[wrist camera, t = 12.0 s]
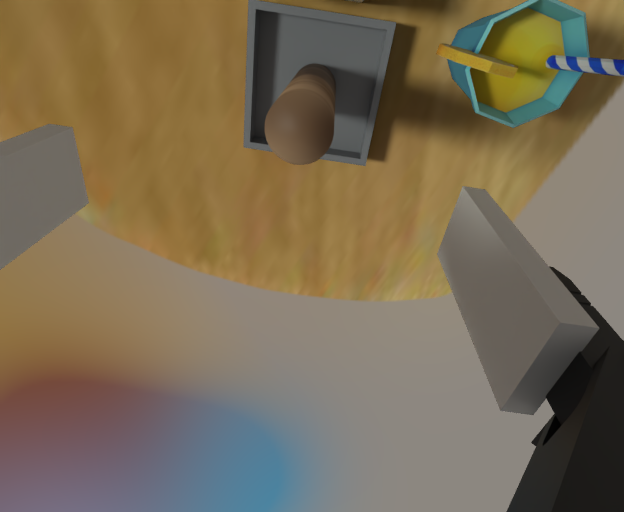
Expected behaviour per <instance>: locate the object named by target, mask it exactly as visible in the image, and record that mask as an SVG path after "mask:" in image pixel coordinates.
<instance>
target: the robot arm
mask: <svg viewBox="0 0 624 512" xmlns="http://www.w3.org/2000/svg"><path fill="white" fill-rule="evenodd" d="M88 203H89V202H88V197H87V192H86V188H85V183H84V179H83V174H82V169H81V165H80V160H79V155H78V151H77V146H76V141H75V137H74V132H73V127H67V126H60V125H53V124H48V125H45V126H42V127H40V128H37V129H34V130H32V131H29V132H26V133H24V134H21V135H19V136H16V137H13V138H11V139H8V140H5V141H3V142H0V270H1V269H2V268H3V267H5V266H6V265H7V264H8V263H10V262H11V261H12V260H14V259H15V258H16V257H18V256H19V255H20V254H22V253H23V252H24V251H26V250H27V249H28V248H30V247H31V246H32V245H34V244H35V243H36V242H38V241H39V240H40V239H42V238H43V237H44V236H45V235H47V234H48V233H50V232H51V231H52V230H54V229H55V228H56V227H57V226H59V225H60V224H62V223H63V222H64V221H65V220H67V219H68V218H69V217H71V216H72V215H73V214H75V213H76V212H77V211H79V210H80V209H81V208H83V207H84V206H85V205H87V204H88ZM437 255H438V257H439V260H440V262H441V265H442V267H443V270H444V272H445V275H446V277H447V280H448V282H449V285H450V287H451V290H452V292H453V294H454V297H455V299H456V302H457V304H458V307H459V309H460V312H461V314H462V317H463V319H464V321H465V324H466V327H467V329H468V331H469V334H470V337H471V339H472V341H473V344H474V346H475V349H476V351H477V354H478V356H479V359H480V361H481V364H482V366H483V369H484V371H485V374H486V376H487V379H488V381H489V384H490V386H491V388H492V391H493V393H494V396H495V398H496V401H497V403H498V406H499V408H500V410H501V411H507V412H514V413H521V414H529V415H534V413H535V412H536V411H537V410H538V408H539V407H540V406H541V404H542V403H543V402H544V400H545V399H546V398H547V400H548V402H549V404H550V406H551V407H552V409H553V411H554V413H555V414H554V415H553V416H552V418H551V419H550V420H549V421H548V423H547V424H546V425H545V426H544V427H543V429H542V430H541V431H540V432H539V434H538V435H537V436H536V437H535V438H534V440H533V441H532V444H534V445H535V446H536V448H535V451H534V453H533V455H532V457H531V459H530V461H529V464H528V466H527V468H526V470H525V472H524V475H523V477H522V479H521V481H520V483H519V486H518V488H517V490H516V492H515V494H514V497H513V499H512V501H511V503H510V505H509V508H508V510H507V512H624V341H623V340H622V339H621V338H620V337H619V336H618V334H617V333H616V332H615V331H614V330H613V329H612V327H611V326H610V325H609V324H608V323H607V322H606V320H605V319H604V318H603V317H602V316H601V315H600V313H599V312H598V311H597V310H596V309H595V308H594V307H593V306H591V303H590V302H589V301H588V300H587V298H586V297H585V296H584V295H581V292H580V290H579V289H578V288H577V287H576V286H575V285H574V284H573V282H572V281H571V280H570V279H569V278H567V277H566V276H565V275H563V274H562V273H560V272H559V271H557V270H556V269H555V268H553V267H549V266H548V265H547V264H546V263H545V261H544V260H543V259H542V258H541V257H540V255H539V254H538V253H537V252H536V251H535V249H534V248H533V247H532V246H531V245H530V243H529V242H528V241H527V240H526V238H525V237H524V236H523V235H522V234H521V233H520V231H519V230H518V229H517V228H516V226H515V225H514V224H513V223H512V221H511V220H510V219H509V218H508V217H507V215H506V214H505V213H504V212H503V211H502V209H501V208H500V207H499V206H498V204H497V203H496V202H495V201H494V200H493V198H492V197H491V196H490V195H489V194H488V192H487V191H486V190H485V189H478V188H472V187H465V186H463V187H462V190H461V193H460V195H459V198H458V200H457V203H456V206H455V208H454V211H453V214H452V216H451V219H450V222H449V224H448V227H447V229H446V232H445V235H444V237H443V240H442V243H441V245H440V248H439V251H438V253H437Z"/></svg>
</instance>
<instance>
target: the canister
mask: <svg viewBox="0 0 624 512" xmlns="http://www.w3.org/2000/svg"><path fill="white" fill-rule="evenodd" d="M346 1H352V2H358V3H361V2H363V1H364V0H346Z"/></svg>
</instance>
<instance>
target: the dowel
mask: <svg viewBox="0 0 624 512" xmlns="http://www.w3.org/2000/svg"><path fill="white" fill-rule="evenodd" d="M335 98H336V82H335V78H334V76H333V74H332V73H331V71H330V70H329V69H328V68H326V67H325V66H323V65H321V64H316V63H313V64H308V65H306V66H304V67H302V68H301V69H300V70H299V71H298V73H297V74H296V75H295V76H294V78H293V79H292V80H291V82H290V83H289V84H288V86H287V87H286V88H285V90H284V91H283V92H282V93H281V95H280V96H279V97H278V99H277V100H276V101H275V103H274V104H273V105H272V107H271V108H270V110H269V111H268V113H267V116H266V119H265V136H266V140H267V142H268V144H269V146H270V148H271V149H272V151H273V152H274V153H275V154H276V155H277V156H278V157H279V158H281V159H282V160H284V161H286V162H289V163H292V164H297V165H304V164H309V163H312V162H315V161H317V160H318V159H320V158H321V157H322V156H323V155H324V154H325V153H326V152H327V151H328V149H329V148H330V146H331V143H332V141H333V136H334V121H335Z"/></svg>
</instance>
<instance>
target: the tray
mask: <svg viewBox="0 0 624 512" xmlns="http://www.w3.org/2000/svg"><path fill="white" fill-rule="evenodd" d="M395 27H396V22H390V21H384V20H377V19H371V18H365V17H359V16H352V15H346V14H340V13H333V12H327V11H321V10H314V9H308V8H302V7H296V6H289V5H283V4H277V3H270V2H264V1H258V0H249V2H248V31H247V61H246V90H245V120H244V147H245V148H251V149H258V150H264V151H271V152H273V151H272V149H271V148H270V146H269V144H268V142H267V140H266V136H265V119H266V116H267V113H268V111H269V110H270V108H271V107H272V105H273V104H274V103H275V101H276V100H277V99H278V97H279V96H280V95H281V93H282V92H283V91H284V90H285V88H286V87H287V86H288V84H289V83H290V82H291V80H292V79H293V78H294V76H295V75H296V74H297V73H298V71H299V70H300V69H301V68H302V67H304V66H306V65H308V64H313V63H316V64H321V65H323V66H325V67H326V68H328V69H329V70H330V71H331V73H332V74H333V76H334V78H335V82H336V98H335V121H334V136H333V141H332V143H331V146H330V148H329V149H328V151H327V152H326V153H325V154H324V155H323V156H322V157H321V158H320V159H324V160H330V161H337V162H343V163H350V164H356V165H363V166H365V165H366V160H367V156H368V151H369V146H370V142H371V137H372V133H373V128H374V123H375V119H376V114H377V110H378V105H379V100H380V96H381V91H382V87H383V82H384V77H385V73H386V68H387V64H388V59H389V54H390V50H391V45H392V40H393V36H394V31H395Z"/></svg>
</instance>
